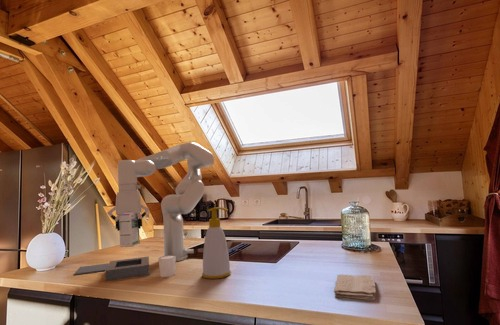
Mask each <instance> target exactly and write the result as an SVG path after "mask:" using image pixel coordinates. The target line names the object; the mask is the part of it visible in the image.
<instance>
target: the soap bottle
mask: <svg viewBox="0 0 500 325" xmlns="http://www.w3.org/2000/svg"><path fill="white" fill-rule="evenodd" d="M218 210H222V211H224V212H228V211H229V209H228V208H226V207H221V206H218V207H216V206H215V207H211V208H209V209H207V210H206V212H211V218H210V219H209V220H208V222H209V224H208V225H209V226H208V228H207V230H206V233H205V236H204V237H205V238H204V242H203V243H204V244H203V250H202V251H203V252H202V254H203V255H202V273H201V276H202V277H203V278H205V279H210V280H218V279H223V278H226V277H229V276H230V275H231V273H232V271H231V270H230V267H231V266H230V265H231V264H230V256H229V248H228V243H227V239H226V238H227V237H226V235H225V232H224V230H223V228H222V226H221V218H218V214H217V213H218V212H217V211H218Z"/></svg>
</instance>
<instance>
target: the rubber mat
mask: <svg viewBox="0 0 500 325" xmlns="http://www.w3.org/2000/svg"><path fill="white" fill-rule="evenodd" d="M109 263H110V262H109ZM109 263H101V264H93V265H84V266H80V267H78V269H77V270H76V271H75V272H74V273H73V276H79V275H80V276H81V275H87V274H93V273H95V274H96V273H101V272H105V271H106V269H107V267H108V265H109Z"/></svg>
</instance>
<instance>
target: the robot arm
mask: <svg viewBox="0 0 500 325" xmlns="http://www.w3.org/2000/svg"><path fill="white" fill-rule="evenodd" d="M185 160H186V163H187V173H186V174H185V176H183V178H182V179H181V181H180V182H179V183H178V184H177V186H176V187H175V194H168V195H166V196H164V197H163V198H162V200H161V203H160V207H161V208H160V209H161V213H162V218H163V219H162V220H163V253H164V256H176V262H180V261H184V260H186V259H188V254H194V253H195V251H194V249H193V248H189V249H187V248H185V239H184V237H185V234H184V218H183V216H182V215H187V214H190V213H191V212H192V211H193V210H194V208H195V207H196V206H197V204H198V203H199V202H200V200H201V199H202V197H203V196H204V195H205V191H206V190H205V184H204V183H203V181H202V179H203V176H202V172H201V169H204V168H210V167H212V166H213V165H214V163H215V156H214V154H213V153H212V152H211V151H209V149H206V148H205V147H204V146H202V145H200V144H199V143H196V142H194V141H193V142H191V141H190V142H185V143H180V144H177V145H175V146H172V147H169V148H166V149H164V150H162V151H161V150H160V151H157V152H155V153H152V154H150V155H147V156H144V157H141V158H139V159H136V160H134V159H133V160H132V159H122V160H119V161H118V162H117V180H118V181H117V182H118V192H116V197H115V206H114V207H113V208H111V209H109V211H107V214H108V216H109V217H110V218H111V219H112V220H113V221H114V222H115V230H117V231H119V232H120V230H119V218H120V215H123V214H124V212H133V214H137V215H138V223H139V230H141V227H143V218H144V217H145V216H146V215H147V213H148V212H149V210H150V208H149V207H147V206H145V205H144V204H142V200H141V193H140V190H138V189H141V187H142V185H141V184H138V178H141V177H142V178H144V177H149V176H152V175H153V174H154V173H155V172H156V170H160V169H165V168H169V167H171V166H173V165H176V164H178V163H180V162H183V161H185ZM142 210H144V211H143V213H141V212H142ZM113 212H115V214H116V216H115V215H114V214H113Z"/></svg>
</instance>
